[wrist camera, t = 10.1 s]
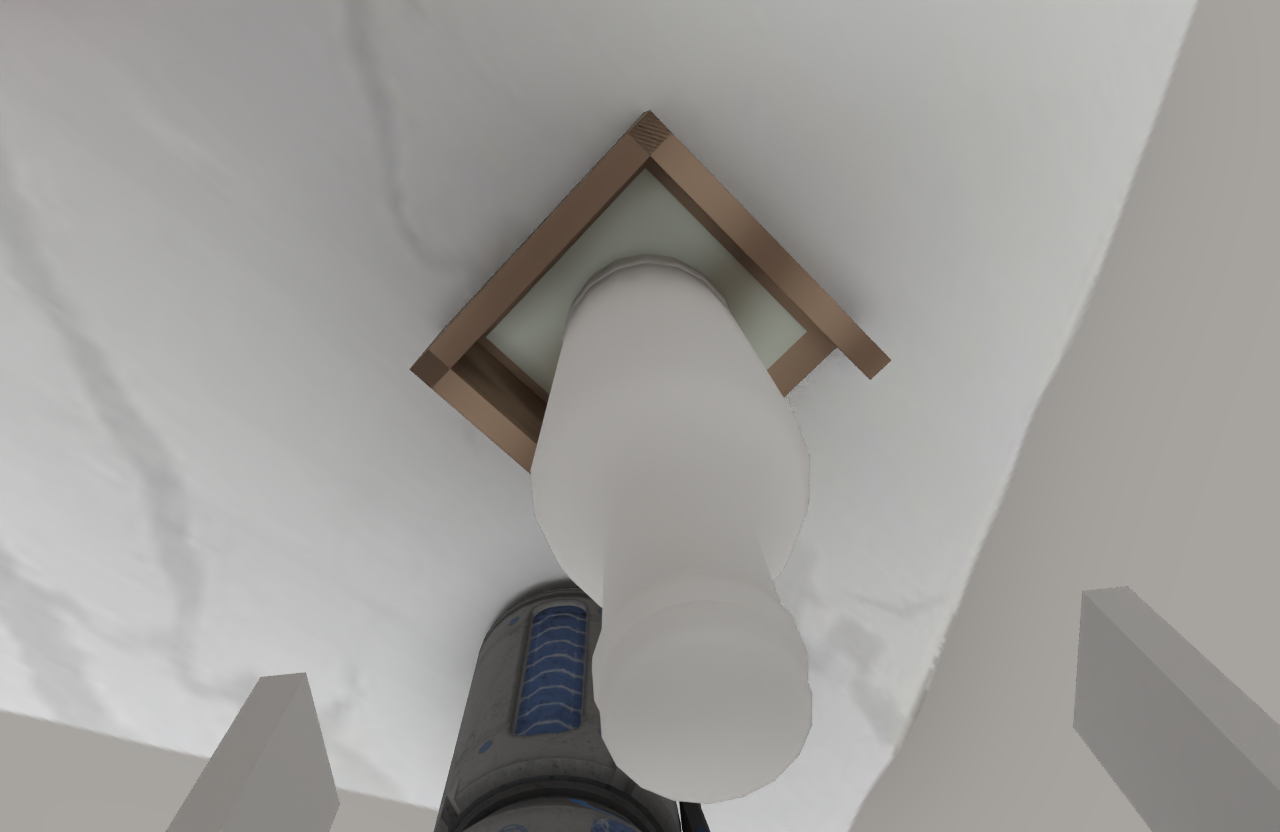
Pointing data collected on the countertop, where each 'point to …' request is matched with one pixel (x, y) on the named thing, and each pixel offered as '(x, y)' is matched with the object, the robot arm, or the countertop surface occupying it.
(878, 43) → the countertop surface
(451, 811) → the beverage bottle
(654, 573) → the bottle
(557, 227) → the wooden stand
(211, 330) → the countertop surface
